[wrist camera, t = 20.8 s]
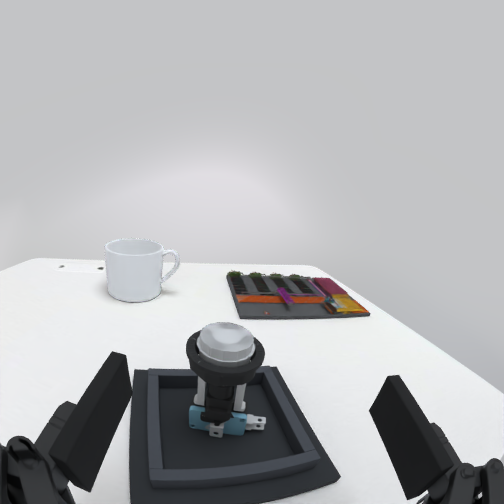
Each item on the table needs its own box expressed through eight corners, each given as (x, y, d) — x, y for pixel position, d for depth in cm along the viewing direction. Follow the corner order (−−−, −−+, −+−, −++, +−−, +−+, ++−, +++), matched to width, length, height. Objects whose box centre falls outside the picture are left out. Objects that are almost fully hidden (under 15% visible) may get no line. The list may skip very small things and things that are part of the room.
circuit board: (329, 281, 64) (332, 271, 63) (369, 315, 47) (373, 303, 47) (226, 277, 58) (227, 264, 57) (240, 318, 41) (242, 303, 41)
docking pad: (337, 481, 15) (349, 466, 14) (133, 509, 10) (125, 498, 10) (274, 372, 30) (279, 354, 29) (135, 375, 25) (132, 356, 24)
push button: (263, 410, 22) (284, 324, 20) (262, 453, 17) (290, 368, 15) (193, 400, 22) (196, 311, 20) (180, 441, 17) (177, 351, 15)
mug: (97, 299, 39) (94, 252, 37) (116, 276, 49) (115, 236, 47) (175, 308, 41) (177, 260, 39) (181, 283, 51) (183, 242, 49)
